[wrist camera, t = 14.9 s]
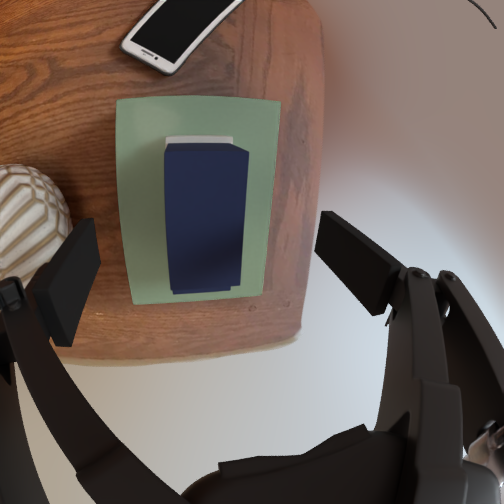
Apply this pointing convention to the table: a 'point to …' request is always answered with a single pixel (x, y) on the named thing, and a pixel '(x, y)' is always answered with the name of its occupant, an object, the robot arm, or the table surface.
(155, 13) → the cell phone
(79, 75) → the table surface
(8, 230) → the vase
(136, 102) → the sage green footstool
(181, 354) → the table surface
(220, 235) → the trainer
